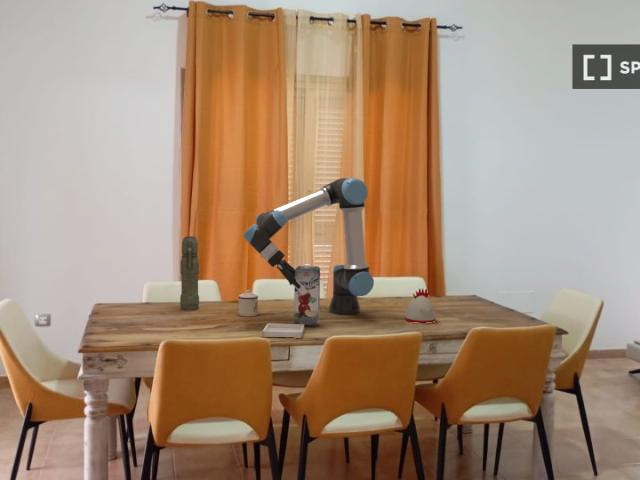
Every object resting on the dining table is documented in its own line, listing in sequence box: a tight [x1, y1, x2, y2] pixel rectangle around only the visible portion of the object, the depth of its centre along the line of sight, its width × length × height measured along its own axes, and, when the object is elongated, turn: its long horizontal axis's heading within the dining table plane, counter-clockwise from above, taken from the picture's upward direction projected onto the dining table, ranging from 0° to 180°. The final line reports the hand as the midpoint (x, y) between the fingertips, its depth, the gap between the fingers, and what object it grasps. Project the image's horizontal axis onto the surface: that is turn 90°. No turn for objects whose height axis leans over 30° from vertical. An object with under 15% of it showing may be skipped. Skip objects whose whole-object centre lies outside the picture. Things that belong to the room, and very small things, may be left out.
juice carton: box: [293, 263, 321, 328], centre depth 268 cm, size 9×10×27 cm
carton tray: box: [262, 322, 305, 338], centre depth 252 cm, size 16×15×2 cm
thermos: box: [179, 236, 200, 311], centre depth 297 cm, size 9×12×35 cm
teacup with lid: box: [238, 289, 259, 318], centre depth 289 cm, size 12×9×12 cm
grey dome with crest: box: [404, 288, 437, 323], centre depth 282 cm, size 14×14×15 cm
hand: (306, 290), depth 267 cm, fingers open, 13 cm apart
